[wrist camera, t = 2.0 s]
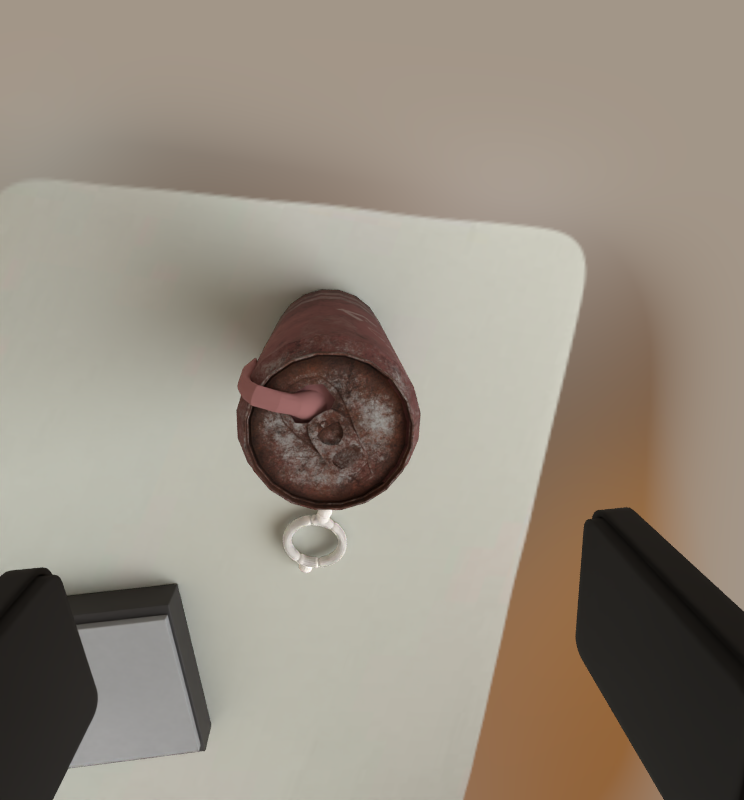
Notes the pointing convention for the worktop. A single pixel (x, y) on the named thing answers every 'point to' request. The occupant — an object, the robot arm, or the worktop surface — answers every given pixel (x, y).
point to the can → (327, 405)
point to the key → (319, 520)
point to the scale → (140, 676)
